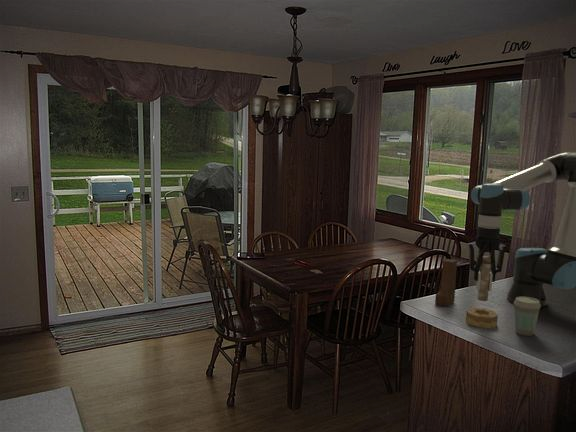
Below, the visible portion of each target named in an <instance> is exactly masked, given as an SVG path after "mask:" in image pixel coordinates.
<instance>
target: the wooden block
mask: <svg viewBox="0 0 576 432" xmlns="http://www.w3.org/2000/svg"><path fill="white" fill-rule="evenodd" d="M441 267H442V269H441V282H440V289H439V290H438V292H437V293H435V301H434V304H435V305H436V306H440V307H443V308H445V307H448V306H450V305H451V304H454V303H455V297H456V284H457V283H456V281H457V269H458V268H457V267H458V261H457V259H456V260H455V259H450V258H447V259H444V260H442V266H441Z"/></svg>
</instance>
